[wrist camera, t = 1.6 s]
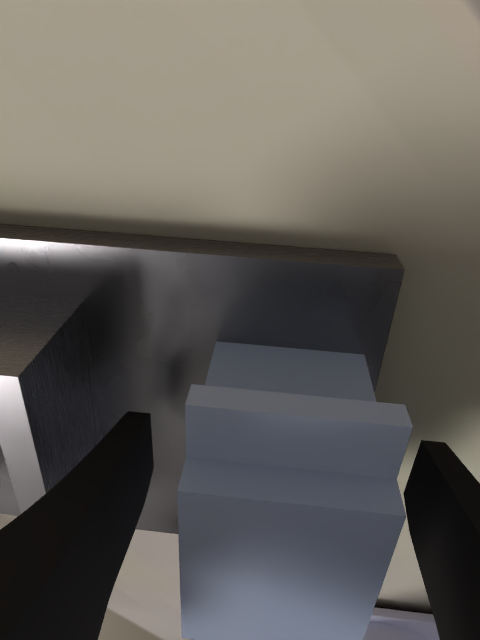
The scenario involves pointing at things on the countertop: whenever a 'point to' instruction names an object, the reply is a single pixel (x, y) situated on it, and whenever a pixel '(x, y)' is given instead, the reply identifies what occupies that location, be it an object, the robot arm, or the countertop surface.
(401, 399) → the countertop surface
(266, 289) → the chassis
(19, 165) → the countertop surface
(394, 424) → the block
